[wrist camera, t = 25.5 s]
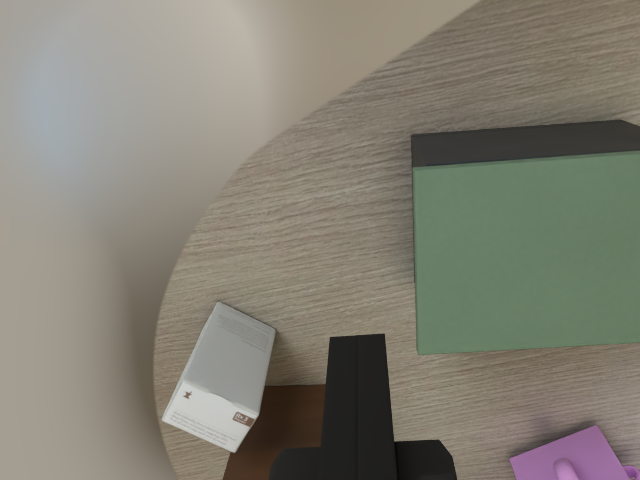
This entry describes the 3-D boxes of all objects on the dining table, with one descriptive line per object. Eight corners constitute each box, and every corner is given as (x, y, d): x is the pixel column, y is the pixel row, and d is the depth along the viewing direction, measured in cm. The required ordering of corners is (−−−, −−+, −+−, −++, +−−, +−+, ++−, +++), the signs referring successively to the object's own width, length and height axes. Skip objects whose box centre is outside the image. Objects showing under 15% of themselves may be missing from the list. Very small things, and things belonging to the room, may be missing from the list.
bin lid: (416, 348, 37) (418, 355, 36) (412, 167, 32) (414, 170, 32) (666, 334, 36) (674, 341, 35) (697, 145, 32) (707, 148, 31)
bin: (414, 281, 47) (428, 343, 37) (410, 134, 42) (426, 163, 33) (603, 272, 45) (666, 333, 36) (621, 119, 41) (697, 145, 32)
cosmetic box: (199, 334, 50) (154, 424, 39) (219, 296, 48) (178, 378, 37) (259, 363, 51) (232, 459, 39) (281, 327, 49) (259, 416, 38)
